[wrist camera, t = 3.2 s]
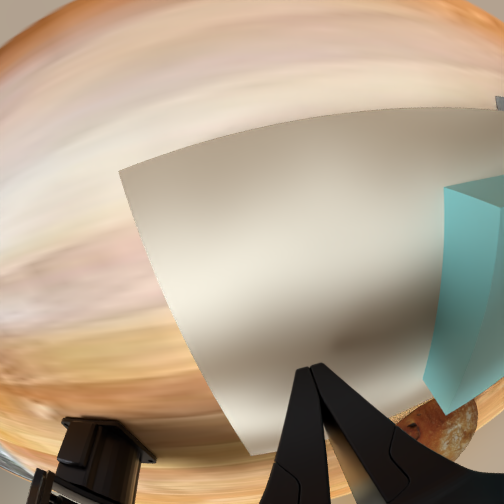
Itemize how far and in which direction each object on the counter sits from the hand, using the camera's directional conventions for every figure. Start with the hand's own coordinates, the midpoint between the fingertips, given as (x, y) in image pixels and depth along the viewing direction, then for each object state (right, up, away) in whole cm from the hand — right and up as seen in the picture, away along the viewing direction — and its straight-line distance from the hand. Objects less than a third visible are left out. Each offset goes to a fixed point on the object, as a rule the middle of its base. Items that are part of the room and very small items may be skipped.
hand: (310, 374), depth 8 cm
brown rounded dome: (+15, -13, +12) cm, 24 cm away
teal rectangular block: (+8, +2, +1) cm, 9 cm away
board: (+5, +3, +5) cm, 7 cm away
